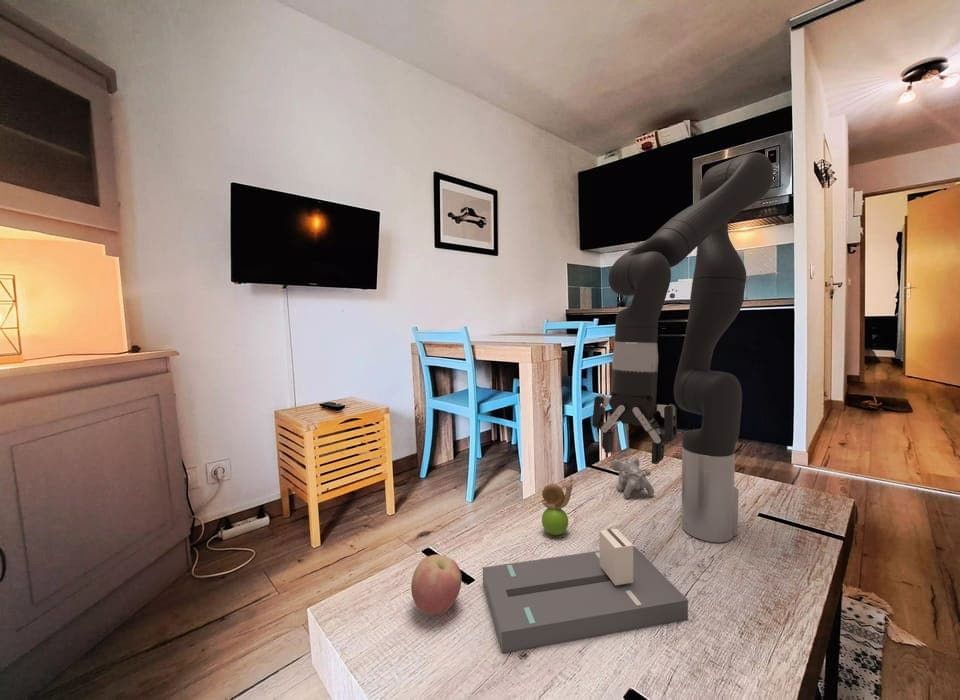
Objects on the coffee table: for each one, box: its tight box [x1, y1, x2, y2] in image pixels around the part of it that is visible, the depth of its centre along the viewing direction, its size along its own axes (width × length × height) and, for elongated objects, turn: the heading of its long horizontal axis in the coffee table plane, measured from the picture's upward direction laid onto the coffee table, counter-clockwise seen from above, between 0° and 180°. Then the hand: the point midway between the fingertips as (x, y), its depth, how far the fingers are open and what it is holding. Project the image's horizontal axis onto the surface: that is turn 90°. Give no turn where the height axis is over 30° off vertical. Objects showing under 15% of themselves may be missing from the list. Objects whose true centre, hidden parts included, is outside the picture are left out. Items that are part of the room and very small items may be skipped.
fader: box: [599, 528, 634, 585], centre depth 62 cm, size 3×5×6 cm, turn 10°
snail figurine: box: [541, 477, 574, 536], centre depth 80 cm, size 5×6×12 cm
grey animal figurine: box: [611, 457, 655, 499], centre depth 100 cm, size 9×12×8 cm
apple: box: [410, 554, 462, 615], centre depth 60 cm, size 8×8×8 cm
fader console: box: [482, 545, 689, 654], centre depth 61 cm, size 28×14×3 cm, turn 100°
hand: (631, 457), depth 70 cm, fingers open, 8 cm apart
